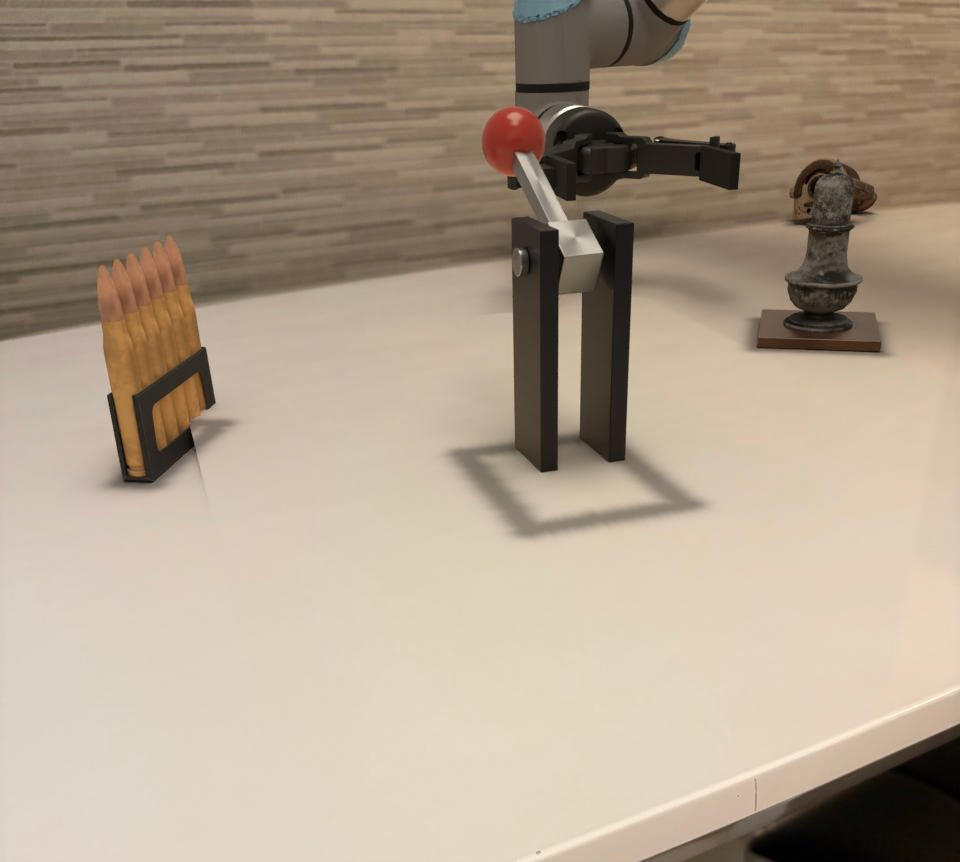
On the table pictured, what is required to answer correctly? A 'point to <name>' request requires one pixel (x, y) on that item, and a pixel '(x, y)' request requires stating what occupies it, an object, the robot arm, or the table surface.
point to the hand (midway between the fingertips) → (654, 177)
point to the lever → (542, 193)
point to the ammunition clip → (152, 360)
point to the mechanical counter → (807, 182)
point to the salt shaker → (825, 260)
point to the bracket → (599, 340)
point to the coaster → (819, 333)
